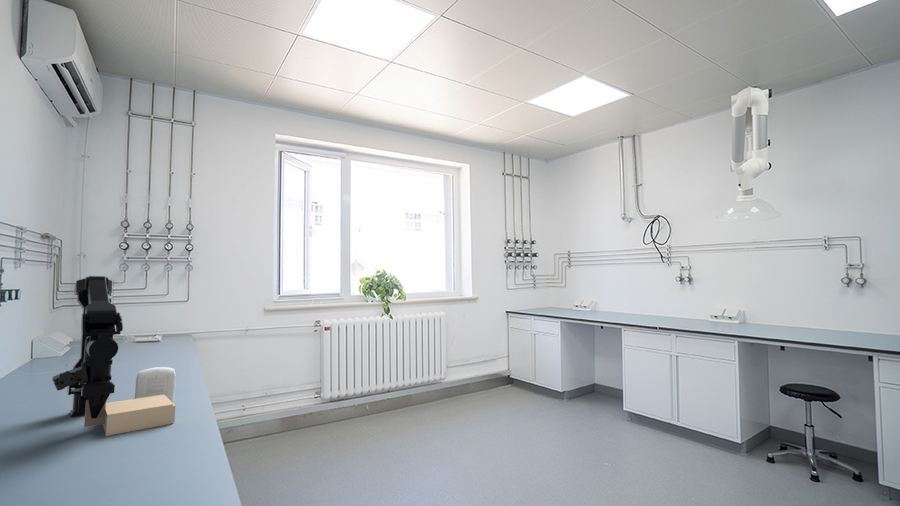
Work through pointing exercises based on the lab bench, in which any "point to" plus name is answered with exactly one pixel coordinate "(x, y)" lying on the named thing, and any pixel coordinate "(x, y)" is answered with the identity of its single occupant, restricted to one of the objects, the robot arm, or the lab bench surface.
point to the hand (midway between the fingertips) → (93, 417)
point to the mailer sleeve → (138, 414)
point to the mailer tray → (95, 421)
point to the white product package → (156, 383)
